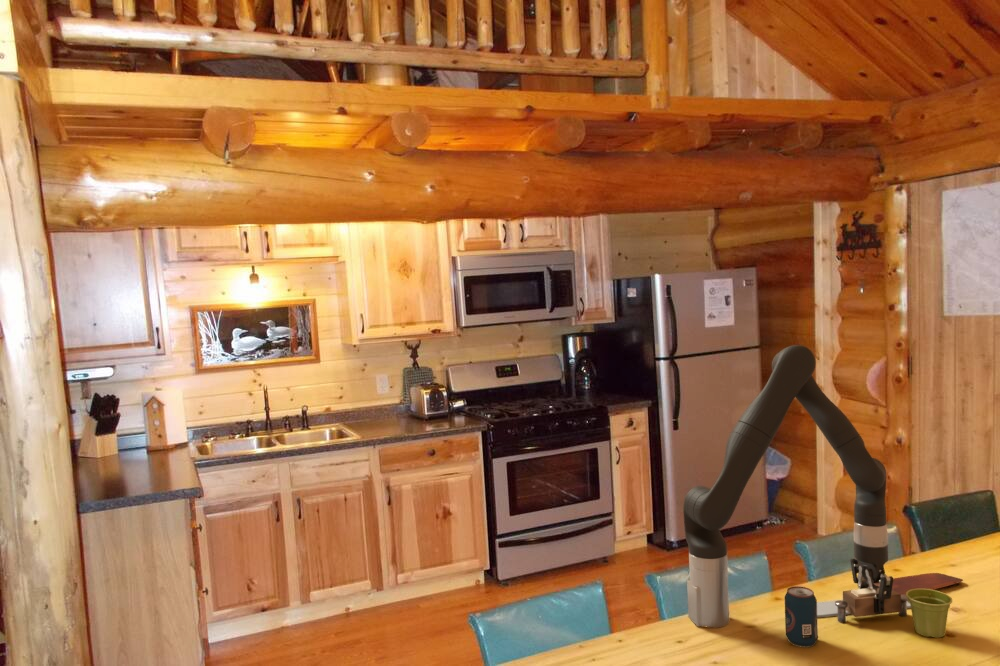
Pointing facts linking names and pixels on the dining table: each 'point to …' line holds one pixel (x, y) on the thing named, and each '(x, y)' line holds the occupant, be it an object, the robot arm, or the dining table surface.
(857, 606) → the wooden box
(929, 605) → the plant pot
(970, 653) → the dining table surface
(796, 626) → the soda can
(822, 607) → the wall strip
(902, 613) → the metal bolt
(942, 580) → the brown flat slab
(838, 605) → the metal screw
